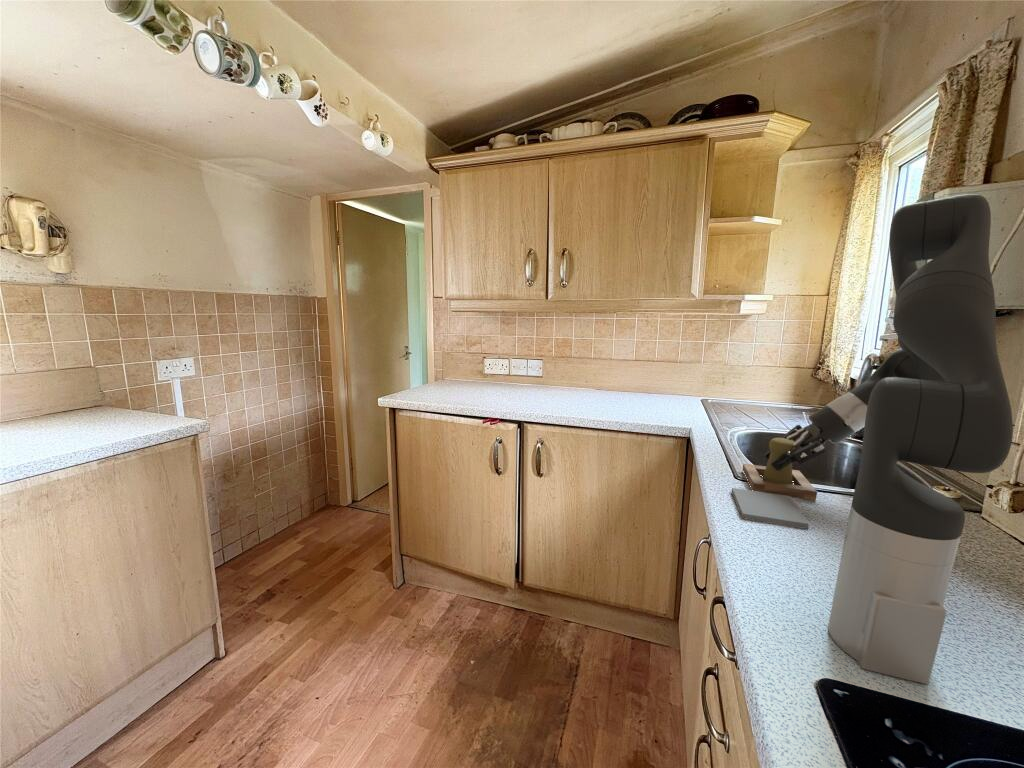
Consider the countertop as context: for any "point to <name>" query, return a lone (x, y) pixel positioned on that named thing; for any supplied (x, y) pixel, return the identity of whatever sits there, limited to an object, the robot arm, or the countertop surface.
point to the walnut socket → (797, 490)
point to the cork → (777, 449)
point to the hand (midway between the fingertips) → (770, 462)
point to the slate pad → (769, 508)
